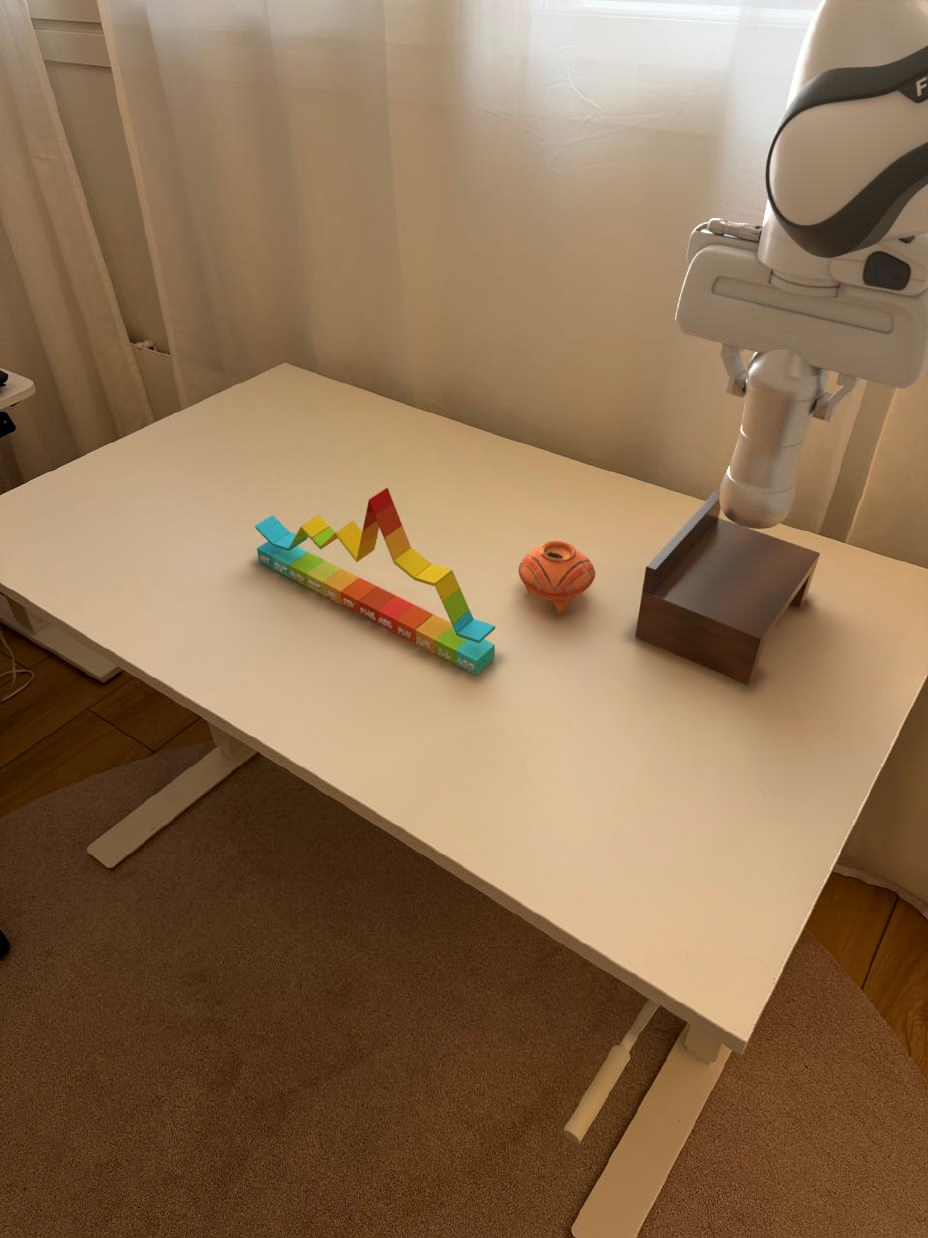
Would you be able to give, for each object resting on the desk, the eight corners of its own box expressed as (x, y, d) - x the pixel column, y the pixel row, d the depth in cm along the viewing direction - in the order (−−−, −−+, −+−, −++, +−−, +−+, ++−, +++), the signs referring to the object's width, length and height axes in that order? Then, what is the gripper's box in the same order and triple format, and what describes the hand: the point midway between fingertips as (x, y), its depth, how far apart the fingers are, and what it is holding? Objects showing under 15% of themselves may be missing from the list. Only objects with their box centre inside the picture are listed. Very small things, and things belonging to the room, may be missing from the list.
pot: (507, 613, 93) (511, 553, 89) (526, 584, 99) (530, 527, 96) (584, 626, 91) (590, 565, 87) (597, 595, 97) (603, 537, 94)
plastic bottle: (730, 491, 88) (775, 287, 75) (798, 513, 85) (857, 304, 72) (703, 522, 84) (745, 312, 71) (773, 546, 81) (831, 332, 68)
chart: (257, 563, 100) (234, 444, 90) (278, 549, 102) (258, 431, 92) (475, 677, 86) (475, 551, 76) (494, 659, 88) (497, 533, 78)
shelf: (806, 598, 95) (828, 528, 89) (747, 685, 85) (768, 613, 79) (700, 559, 100) (715, 490, 94) (634, 637, 90) (645, 566, 84)
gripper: (676, 223, 70) (653, 387, 79) (951, 277, 61) (890, 455, 70) (709, 204, 74) (683, 361, 83) (973, 251, 65) (911, 423, 74)
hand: (780, 405), depth 76 cm, fingers closed on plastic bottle, 6 cm apart
